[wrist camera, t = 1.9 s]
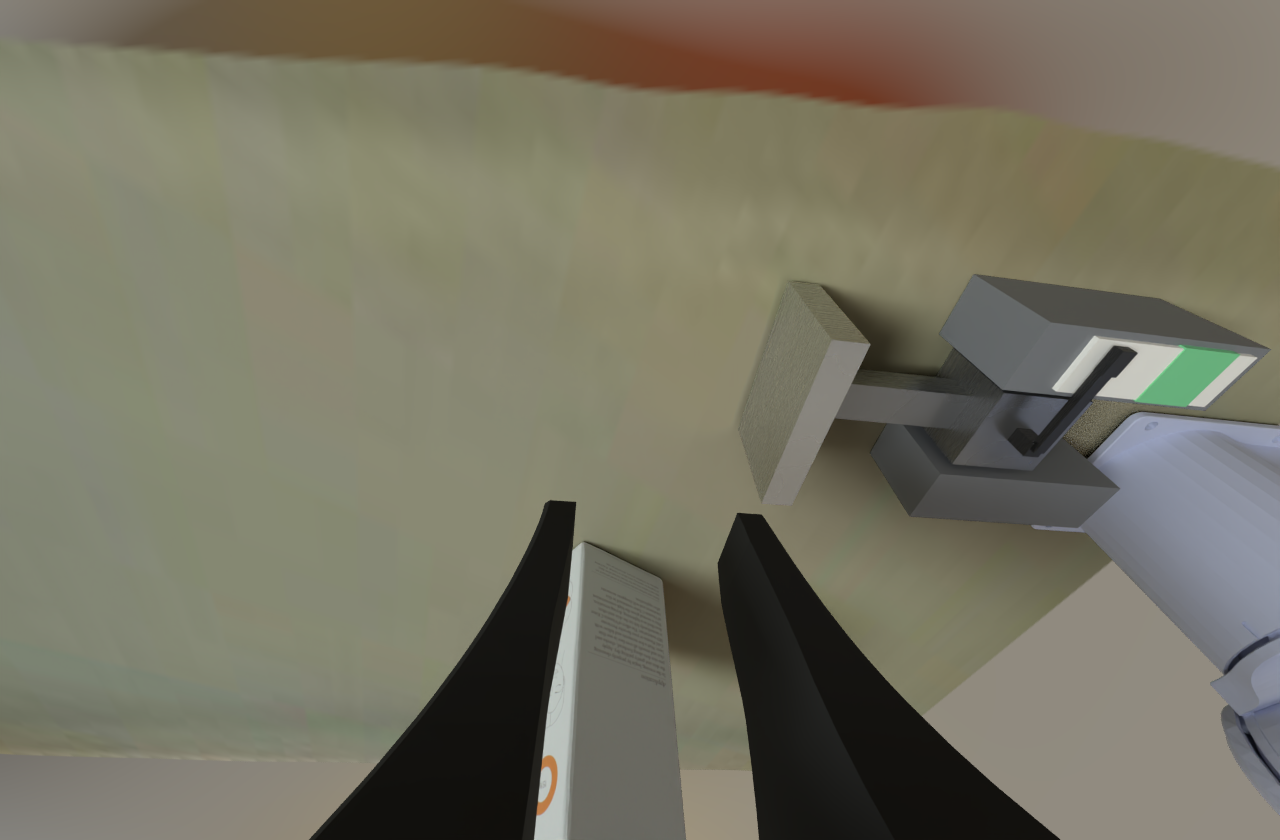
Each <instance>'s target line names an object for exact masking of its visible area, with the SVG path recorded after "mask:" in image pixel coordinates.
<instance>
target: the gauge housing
mask: <svg viewBox="0 0 1280 840" xmlns="http://www.w3.org/2000/svg"><path fill="white" fill-rule="evenodd" d="M939 335H941V336H942V337H943V338H944V339H945V340H946V341H947V342H949V343H950V344H951V345H952V346H953V347H954V348H955V349H957V350H958V351H959V352H960V353H961V354H962V355H963V356H964V357H966V358H967V359H968V360H969V361H970V362H971V363H972V364H974V365H975V366H976V367H977V368H978V369H979V370H980V371H981V372H983V373H984V374H985V375H986V376H987V377H988V378H989V379H991V380H992V381H993V382H994V383H995V384H996V385H997V386H999V387H1000V388H1001V389H1002V390H1010V391H1020V392H1030V393H1039V394H1049V395H1058V396H1068V397H1071V396H1072V395H1073V394H1074V393H1075V392H1076V391H1077V389H1078V388H1079V387H1080V386H1081V385H1082V383H1083V382H1084V381H1085V380H1086V379H1087V378H1088V376H1089V375H1090V374H1091V373H1092V372H1093V370H1094V368H1095V367H1096V366H1097V365H1098V364H1099V362H1100V361H1101V360H1102V359H1103V358H1104V357H1105V355H1106V354H1107V353H1108V352H1109V351H1110V349H1111V348H1112V347H1113V346H1114V345H1115V346H1123V347H1129V348H1131V349H1132V350H1134V351H1136V352H1138V354H1137V355H1136V356H1135V357H1134V358H1133V360H1132V361H1131V362H1130V363H1129V364H1128V365H1127V366H1126V367H1125V369H1124V370H1123V371H1122V372H1121V373H1120V374H1119V375H1118V376H1117V377H1116V378H1111V379H1110V380H1109V381H1108V382H1107V383H1106V384H1105V386H1104V387H1103V388H1102V389H1101V390H1100V391H1099V392H1098V393H1097V395H1096V396H1095V397H1094V398H1093V399H1097V400H1107V401H1116V402H1126V403H1136V404H1145V405H1155V406H1164V407H1174V408H1184V409H1193V410H1203V411H1205V410H1206V409H1207V408H1208V407H1210V406H1211V405H1212V404H1213V403H1214V402H1215V401H1216V400H1217V399H1218V398H1219V397H1220V396H1221V395H1223V394H1224V393H1225V392H1226V391H1227V390H1228V389H1229V388H1230V387H1231V386H1232V385H1233V384H1234V383H1236V382H1237V381H1238V380H1239V379H1240V378H1241V377H1242V376H1243V375H1244V374H1245V373H1246V372H1247V371H1249V370H1250V369H1251V368H1252V367H1253V366H1254V365H1255V364H1256V363H1257V362H1258V361H1259V360H1260V359H1262V358H1263V357H1264V356H1265V355H1266V354H1267V353H1268V352H1269V351H1270V350H1271V349H1269V348H1267V347H1265V346H1263V345H1260V344H1258V343H1256V342H1254V341H1252V340H1249V339H1247V338H1245V337H1243V336H1241V335H1238V334H1236V333H1234V332H1232V331H1230V330H1227V329H1225V328H1223V327H1221V326H1219V325H1216V324H1214V323H1212V322H1210V321H1208V320H1205V319H1203V318H1201V317H1199V316H1197V315H1194V314H1192V313H1190V312H1188V311H1186V310H1183V309H1181V308H1179V307H1177V306H1175V305H1172V304H1170V303H1168V302H1166V301H1164V300H1161V299H1157V298H1150V297H1142V296H1135V295H1127V294H1120V293H1112V292H1104V291H1097V290H1089V289H1082V288H1074V287H1067V286H1059V285H1052V284H1044V283H1036V282H1029V281H1021V280H1014V279H1006V278H999V277H991V276H984V275H976V274H974V275H973V277H972V278H971V280H970V282H969V283H968V285H967V287H966V289H965V290H964V292H963V294H962V295H961V297H960V299H959V301H958V302H957V304H956V306H955V308H954V309H953V311H952V313H951V314H950V316H949V318H948V320H947V321H946V323H945V325H944V326H943V328H942V330H941V332H940V333H939ZM870 454H871V456H872V457H873V459H874V460H875V462H876V464H877V465H878V467H879V468H880V470H881V472H882V473H883V475H884V476H885V478H886V480H887V481H888V483H889V484H890V486H891V488H892V489H893V491H894V492H895V494H896V496H897V497H898V499H899V500H900V502H901V504H902V505H903V507H904V508H905V510H906V512H907V513H908V515H909V516H911V517H925V518H939V519H954V520H968V521H982V522H997V523H1011V524H1026V525H1040V526H1054V527H1069V528H1079V527H1080V526H1081V525H1082V524H1083V523H1084V522H1085V521H1086V520H1087V519H1088V518H1089V517H1091V516H1092V515H1093V514H1094V513H1095V512H1096V511H1097V510H1098V509H1099V508H1100V507H1101V506H1102V505H1103V504H1105V503H1106V502H1107V501H1108V500H1109V499H1110V498H1111V497H1112V496H1113V495H1114V494H1115V493H1116V492H1118V491H1119V490H1120V488H1119V487H1118V486H1117V485H1116V484H1115V483H1114V482H1112V481H1111V480H1110V479H1109V478H1108V477H1107V476H1106V475H1104V474H1103V473H1102V472H1101V471H1100V470H1099V469H1097V468H1096V467H1095V466H1094V465H1093V464H1092V463H1091V462H1089V461H1088V460H1087V459H1086V458H1085V457H1084V456H1083V455H1081V454H1080V453H1079V452H1078V451H1077V450H1076V449H1074V448H1073V447H1072V446H1071V445H1070V444H1069V443H1068V442H1066V441H1065V440H1064V439H1063V438H1061V439H1060V440H1059V441H1058V443H1057V444H1056V445H1055V446H1054V447H1053V448H1052V449H1051V450H1050V452H1049V453H1048V454H1047V455H1046V456H1045V457H1044V458H1043V459H1042V461H1041V462H1040V463H1039V464H1038V465H1037V466H1036V467H1035V468H1034V470H1033V471H1028V470H1016V469H1004V468H992V467H980V466H968V465H956V464H952V463H951V462H950V461H949V460H948V459H947V457H946V456H945V455H944V454H943V452H942V451H941V450H940V449H939V447H938V446H937V445H936V444H935V442H934V441H933V440H932V439H931V437H930V436H929V435H928V434H927V433H926V431H925V430H924V429H923V428H922V426H913V425H902V424H891V423H887V424H886V426H885V428H884V430H883V431H882V433H881V435H880V437H879V438H878V440H877V442H876V443H875V445H874V447H873V449H872V450H871V452H870Z"/></svg>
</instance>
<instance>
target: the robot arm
mask: <svg viewBox="0 0 1280 840" xmlns="http://www.w3.org/2000/svg"><path fill="white" fill-rule="evenodd" d="M1087 460H1088V461H1089V462H1091V463H1092V464H1093V465H1094V466H1095V467H1096V468H1097V469H1099V470H1100V471H1101V472H1102V473H1103V474H1104V475H1106V476H1107V477H1108V478H1109V479H1110V480H1111V481H1112V482H1114V483H1115V484H1116V485H1117V486H1118V487H1119V488H1120V490H1119V491H1118V492H1116V493H1115V494H1114V495H1113V496H1112V497H1111V498H1110V499H1109V500H1108V501H1107V502H1106V503H1105V504H1103V505H1102V506H1101V507H1100V508H1099V509H1098V510H1097V511H1096V512H1095V513H1094V514H1093V515H1092V516H1091V517H1089V518H1088V519H1087V520H1086V521H1085V522H1084V523H1083V524H1082V525H1081V526H1080V527H1079V528H1069V527H1054V526H1040V525H1031V526H1032V527H1033V528H1034V529H1041V530H1055V531H1070V532H1085V533H1087V534H1088V535H1089V536H1090V537H1091V538H1092V539H1093V540H1094V542H1095V543H1096V544H1097V545H1098V546H1099V547H1100V548H1101V549H1102V550H1103V551H1104V552H1105V553H1106V554H1107V555H1108V556H1109V557H1110V558H1111V559H1112V560H1113V561H1114V562H1115V563H1116V564H1117V565H1118V566H1119V567H1120V568H1121V569H1122V570H1123V571H1124V572H1125V573H1126V574H1127V575H1128V576H1129V578H1130V579H1131V580H1132V581H1133V582H1134V583H1135V584H1136V585H1137V586H1138V587H1139V588H1140V589H1141V590H1142V591H1143V592H1144V593H1145V594H1146V595H1147V596H1148V597H1149V598H1150V599H1151V600H1152V601H1153V602H1154V603H1155V604H1156V605H1157V606H1158V607H1159V608H1160V609H1161V610H1162V611H1163V613H1164V614H1165V615H1166V616H1168V618H1169V619H1170V620H1171V621H1172V622H1173V623H1174V624H1175V625H1176V626H1177V627H1178V628H1179V629H1180V630H1181V631H1182V632H1183V633H1184V634H1185V635H1186V636H1187V637H1188V638H1189V639H1190V640H1191V641H1192V642H1193V643H1194V644H1195V645H1196V646H1197V648H1199V649H1200V651H1201V652H1202V653H1203V654H1204V655H1205V656H1206V657H1207V658H1208V659H1209V660H1210V661H1211V662H1212V663H1213V664H1214V665H1215V666H1216V667H1217V668H1218V669H1219V670H1220V671H1221V672H1222V673H1223V674H1224V676H1222V677H1221V678H1219V679H1217V680H1215V681H1212V682H1211V683H1210V685H1211V686H1212V687H1213V688H1214V689H1215V690H1216V691H1217V692H1218V693H1219V694H1220V695H1221V697H1222V698H1223V699H1224V700H1225V701H1226V702H1227V703H1228V705H1227V706H1225V707H1224V708H1223V710H1222V713H1221V721H1222V726H1223V729H1224V732H1225V735H1226V739H1227V743H1228V746H1229V748H1230V750H1231V752H1232V754H1233V756H1234V758H1235V760H1236V762H1237V763H1238V765H1239V766H1240V768H1241V769H1242V771H1243V772H1244V774H1245V775H1246V777H1247V778H1248V779H1249V781H1250V782H1251V783H1252V785H1253V786H1254V787H1255V788H1256V790H1257V791H1258V792H1259V793H1260V794H1261V796H1262V797H1263V798H1264V799H1265V800H1266V801H1267V803H1268V804H1269V805H1270V806H1271V807H1272V808H1273V809H1274V810H1275V811H1276V812H1277V813H1278V814H1279V815H1280V426H1277V425H1267V424H1257V423H1247V422H1237V421H1228V420H1218V419H1208V418H1198V417H1188V416H1178V415H1169V414H1159V413H1149V412H1138V413H1135V414H1132V415H1131V416H1129V417H1128V418H1127V419H1125V421H1124V422H1123V423H1122V424H1121V425H1120V426H1119V427H1118V428H1117V429H1116V430H1115V431H1114V432H1113V433H1112V434H1111V435H1110V436H1109V437H1108V438H1107V439H1106V440H1105V441H1104V442H1103V443H1102V444H1101V445H1100V446H1099V447H1098V448H1097V449H1096V450H1095V452H1094V453H1093V454H1092V455H1091V456H1090V457H1089V458H1088V459H1087ZM575 510H576V502H568V501H553V500H550V501H548V502H546V503H545V505H544V509H543V512H542V515H541V518H540V521H539V523H538V526H537V528H536V531H535V533H534V535H533V537H532V540H531V542H530V544H529V546H528V548H527V550H526V552H525V554H524V556H523V558H522V560H521V562H520V564H519V566H518V568H517V569H516V571H515V573H514V575H513V577H512V579H511V581H510V582H509V584H508V586H507V588H506V589H505V591H504V593H503V594H502V596H501V598H500V599H499V601H498V603H497V604H496V606H495V608H494V609H493V611H492V613H491V614H490V616H489V618H488V619H487V621H486V622H485V624H484V625H483V627H482V628H481V630H480V632H479V633H478V635H477V636H476V638H475V639H474V640H473V642H472V643H471V645H470V646H469V648H468V649H467V651H466V652H465V654H464V655H463V656H462V658H461V659H460V661H459V662H458V663H457V665H456V666H455V668H454V669H453V670H452V672H451V673H450V674H449V676H448V677H447V678H446V680H445V681H444V682H443V684H442V685H441V686H440V688H439V689H438V690H437V692H436V693H435V694H434V696H433V697H432V698H431V700H430V701H429V702H428V703H427V705H426V706H425V707H424V709H423V710H422V711H421V712H420V714H419V715H418V716H417V717H416V719H415V720H414V721H413V722H412V723H411V725H410V726H409V727H408V728H407V729H406V731H405V732H404V733H403V734H402V735H401V737H400V738H399V739H398V740H397V741H396V743H395V744H394V745H393V746H392V747H391V749H390V750H389V751H388V752H387V753H386V755H385V756H384V757H383V758H382V759H381V760H380V762H379V763H378V764H377V765H376V767H375V768H374V769H373V770H372V771H371V772H370V773H369V774H368V776H367V777H366V778H365V779H364V780H363V781H362V782H361V783H360V785H359V786H358V787H357V788H356V789H355V790H354V791H353V792H352V793H351V795H349V797H348V798H347V799H346V800H345V801H344V802H343V803H342V804H341V805H340V806H339V808H338V809H337V810H336V811H335V812H334V813H333V814H332V815H331V816H330V817H329V818H328V820H327V821H326V822H325V823H324V824H323V825H322V826H321V827H320V828H319V829H318V831H317V832H316V833H315V834H314V835H313V836H312V837H311V838H310V839H309V840H534V835H535V826H536V816H537V806H538V797H539V787H540V777H541V768H542V758H543V749H544V739H545V730H546V720H547V712H548V705H549V699H550V692H551V687H552V681H553V676H554V671H555V665H556V660H557V654H558V649H559V644H560V638H561V633H562V627H563V622H564V617H565V611H566V606H567V600H568V592H569V582H570V571H571V560H572V548H573V536H574V523H575ZM718 574H719V585H720V594H721V603H722V609H723V614H724V618H725V623H726V628H727V632H728V637H729V642H730V646H731V651H732V655H733V660H734V664H735V669H736V673H737V678H738V682H739V687H740V692H741V696H742V701H743V707H744V712H745V718H746V725H747V733H748V741H749V749H750V757H751V765H752V772H753V773H752V774H753V782H754V791H755V801H756V809H757V821H758V832H759V840H1060V839H1059V838H1058V837H1057V836H1055V835H1054V834H1053V833H1052V832H1050V831H1049V830H1048V829H1047V828H1046V827H1045V826H1043V825H1042V824H1041V823H1040V822H1039V821H1037V820H1036V819H1035V818H1034V817H1033V816H1031V815H1030V814H1029V813H1028V812H1027V811H1025V810H1024V809H1023V808H1022V807H1020V806H1019V805H1018V804H1017V803H1016V802H1014V801H1013V800H1012V799H1011V798H1010V797H1009V796H1007V795H1006V794H1005V793H1004V792H1003V791H1001V790H1000V789H999V788H998V787H997V786H996V785H994V784H993V783H992V782H991V781H990V780H989V779H988V778H986V777H985V776H984V775H983V774H982V773H981V772H980V771H979V770H978V769H977V768H975V767H974V766H973V765H972V764H971V763H970V762H969V761H968V760H967V759H965V758H964V757H963V756H962V755H961V754H960V753H959V752H958V751H957V750H956V749H954V748H953V747H952V746H951V745H950V744H949V743H948V742H947V741H946V740H945V739H944V738H943V737H942V736H941V735H940V734H939V733H938V732H937V731H936V730H935V729H934V728H933V727H932V726H931V725H930V724H929V723H928V722H927V721H926V720H925V719H924V718H923V717H922V716H921V715H920V714H919V713H918V712H917V711H916V710H915V709H914V708H913V707H912V706H911V705H910V704H909V703H908V702H907V701H906V700H905V699H904V698H903V697H902V696H901V695H900V694H899V693H898V692H897V691H896V690H895V689H894V688H893V687H892V686H891V685H890V683H889V682H888V681H887V680H886V679H885V678H884V677H883V676H882V675H881V674H880V673H879V671H878V670H877V669H876V668H875V667H874V666H873V665H872V664H871V662H870V661H869V660H868V659H867V658H866V657H865V656H864V654H863V653H862V652H861V651H860V650H859V648H858V647H857V646H856V645H855V644H854V642H853V641H852V640H851V639H850V638H849V636H848V635H847V634H846V633H845V631H844V630H843V629H842V628H841V626H840V625H839V624H838V622H837V621H836V620H835V619H834V617H833V616H832V615H831V613H830V612H829V611H828V610H827V608H826V607H825V606H824V604H823V603H822V602H821V600H820V599H819V597H818V596H817V595H816V593H815V592H814V590H813V589H812V588H811V586H810V585H809V584H808V582H807V581H806V579H805V578H804V577H803V575H802V574H801V572H800V571H799V569H798V568H797V567H796V565H795V564H794V562H793V561H792V559H791V558H790V556H789V555H788V553H787V552H786V550H785V549H784V547H783V546H782V544H781V543H780V541H779V540H778V538H777V537H776V535H775V534H774V532H773V531H772V529H771V527H770V526H769V524H768V523H767V521H766V520H765V518H764V517H763V516H762V515H760V514H745V513H737V515H736V518H735V521H734V523H733V526H732V528H731V531H730V533H729V536H728V538H727V541H726V543H725V546H724V549H723V551H722V554H721V556H720V559H719V561H718Z"/></svg>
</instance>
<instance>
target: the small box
mask: <svg viewBox="0 0 1280 840" xmlns="http://www.w3.org/2000/svg"><path fill="white" fill-rule="evenodd" d="M534 840H686V835H685V824H684V813H683V801H682V790H681V778H680V767H679V759H678V746H677V735H676V723H675V712H674V701H673V690H672V679H671V667H670V656H669V645H668V634H667V624H666V612H665V601H664V590H663V582H662V580H661V578H659V577H657V576H655V575H653V574H650V573H648V572H646V571H644V570H642V569H640V568H638V567H636V566H634V565H632V564H630V563H628V562H626V561H623V560H621V559H619V558H617V557H615V556H614V555H611V554H609V553H607V552H605V551H603V550H601V549H599V548H597V547H594V546H592V545H590V544H588V543H586V542H582V543H581V544H580V545H578V546H577V547H576V548H575V549H574V550H573V551H572V560H571V571H570V582H569V592H568V600H567V606H566V611H565V617H564V622H563V627H562V633H561V638H560V644H559V649H558V654H557V660H556V665H555V671H554V676H553V681H552V687H551V692H550V699H549V705H548V712H547V720H546V730H545V739H544V749H543V758H542V768H541V777H540V787H539V797H538V806H537V816H536V826H535V835H534Z"/></svg>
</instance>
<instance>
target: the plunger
mask: <svg viewBox="0 0 1280 840" xmlns="http://www.w3.org/2000/svg"><path fill="white" fill-rule="evenodd" d="M870 345H871V344H870V343H869V342H868V340H867V339H866V338H865V337H864V336H863V335H862V333H861V332H860V331H859V330H858V329H857V328H856V326H855V325H854V324H853V323H852V322H851V321H850V320H849V318H848V317H847V316H846V315H845V314H844V313H843V311H842V310H841V309H840V308H839V307H838V306H837V304H836V303H835V302H834V301H833V300H832V299H831V297H830V296H829V295H828V294H827V293H826V292H825V290H824V289H823V288H822V287H821V286H820V285H819V284H811V283H803V282H795V281H788V283H787V286H786V289H785V292H784V295H783V298H782V301H781V304H780V307H779V309H778V312H777V315H776V318H775V321H774V324H773V327H772V330H771V333H770V336H769V339H768V342H767V345H766V348H765V351H764V354H763V357H762V360H761V363H760V366H759V369H758V371H757V374H756V377H755V380H754V383H753V386H752V389H751V392H750V395H749V398H748V401H747V404H746V407H745V410H744V413H743V416H742V419H741V422H740V425H739V428H738V430H739V434H740V437H741V440H742V443H743V446H744V449H745V453H746V456H747V459H748V462H749V465H750V469H751V472H752V475H753V478H754V481H755V485H756V488H757V491H758V494H759V497H760V500H761V503H762V504H776V505H790V506H792V504H793V502H794V500H795V498H796V496H797V494H798V492H799V490H800V487H801V485H802V483H803V481H804V479H805V477H806V475H807V473H808V471H809V469H810V467H811V465H812V463H813V461H814V459H815V457H816V455H817V453H818V451H819V449H820V447H821V445H822V443H823V441H824V439H825V437H826V434H827V432H828V430H829V428H830V426H831V424H832V422H833V420H834V418H837V419H848V420H859V421H870V422H880V423H891V424H902V425H913V426H922V428H923V429H924V430H925V431H926V433H927V434H928V435H929V436H930V437H931V439H932V440H933V441H934V442H935V444H936V445H937V446H938V447H939V449H940V450H941V451H942V452H943V454H944V455H945V456H946V457H947V459H948V460H949V461H950V462H951V463H952V464H956V465H968V466H980V467H992V468H1004V469H1016V470H1028V471H1033V470H1034V468H1035V467H1036V466H1037V465H1038V464H1039V463H1040V462H1041V461H1042V459H1043V458H1044V457H1045V456H1046V455H1047V454H1048V453H1049V452H1050V450H1051V449H1052V448H1053V447H1054V446H1055V445H1056V444H1057V443H1058V441H1059V440H1060V439H1061V438H1062V437H1063V436H1064V435H1065V434H1066V432H1067V431H1068V430H1069V429H1070V428H1071V427H1072V426H1073V425H1074V423H1075V422H1076V421H1077V420H1078V419H1079V418H1080V417H1081V416H1082V414H1083V413H1084V412H1085V411H1086V410H1087V409H1088V408H1089V407H1090V405H1091V404H1092V403H1093V402H1092V401H1091V400H1092V399H1093V398H1094V397H1095V396H1096V395H1097V393H1098V392H1099V391H1100V390H1101V389H1102V388H1103V387H1104V386H1105V384H1106V383H1107V382H1108V381H1109V380H1110V379H1111V378H1116V377H1117V376H1118V375H1119V374H1120V373H1121V372H1122V371H1123V370H1124V369H1125V367H1126V366H1127V365H1128V364H1129V363H1130V362H1131V361H1132V360H1133V358H1134V357H1135V356H1136V355H1137V354H1138V352H1136V351H1134V350H1132V349H1131V348H1129V347H1123V346H1115V345H1114V346H1113V347H1112V348H1111V349H1110V351H1109V352H1108V353H1107V354H1106V355H1105V357H1104V358H1103V359H1102V360H1101V361H1100V362H1099V364H1098V365H1097V366H1096V367H1095V368H1094V370H1093V372H1092V373H1091V374H1090V375H1089V376H1088V378H1087V379H1086V380H1085V381H1084V382H1083V383H1082V385H1081V386H1080V387H1079V388H1078V389H1077V391H1076V392H1075V393H1074V394H1073V395H1072V396H1071V397H1068V396H1058V395H1049V394H1039V393H1030V392H1020V391H1010V390H1002V389H1001V388H1000V387H999V386H997V385H996V384H995V383H994V382H993V381H992V380H991V379H989V378H988V377H987V376H986V375H985V374H984V373H983V372H981V371H980V370H979V369H978V368H977V367H976V366H975V365H974V364H972V363H971V362H970V361H969V360H968V359H967V358H966V357H964V356H963V355H962V354H961V353H960V352H959V351H958V350H957V349H955V348H953V349H952V351H951V352H950V354H949V356H948V357H947V359H946V361H945V362H944V364H943V365H942V367H941V369H940V370H939V372H938V374H937V375H936V377H931V376H922V375H912V374H903V373H893V372H884V371H874V370H864V369H859V367H860V365H861V363H862V361H863V359H864V357H865V355H866V353H867V351H868V349H869V347H870Z"/></svg>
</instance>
